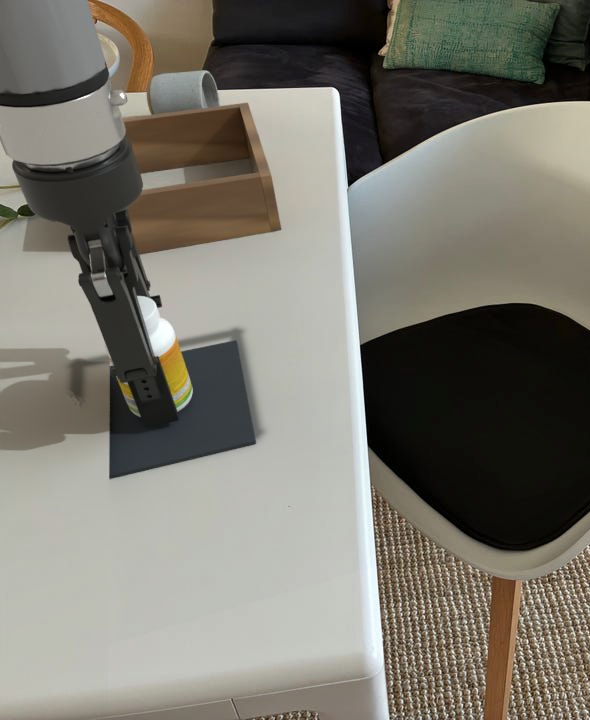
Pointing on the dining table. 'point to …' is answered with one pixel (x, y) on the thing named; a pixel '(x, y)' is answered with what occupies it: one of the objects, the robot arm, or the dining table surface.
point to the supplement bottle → (162, 357)
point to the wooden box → (203, 198)
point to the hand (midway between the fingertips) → (160, 396)
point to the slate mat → (186, 416)
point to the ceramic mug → (182, 92)
